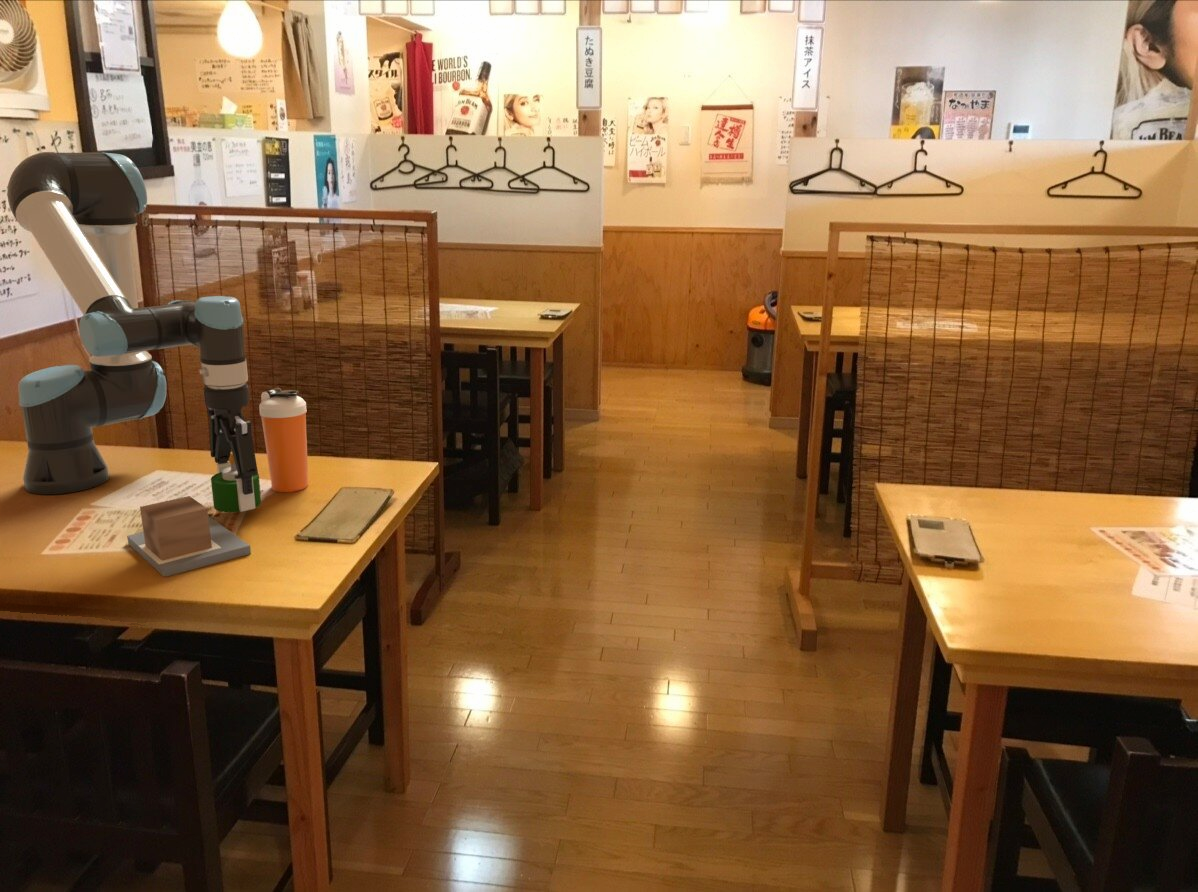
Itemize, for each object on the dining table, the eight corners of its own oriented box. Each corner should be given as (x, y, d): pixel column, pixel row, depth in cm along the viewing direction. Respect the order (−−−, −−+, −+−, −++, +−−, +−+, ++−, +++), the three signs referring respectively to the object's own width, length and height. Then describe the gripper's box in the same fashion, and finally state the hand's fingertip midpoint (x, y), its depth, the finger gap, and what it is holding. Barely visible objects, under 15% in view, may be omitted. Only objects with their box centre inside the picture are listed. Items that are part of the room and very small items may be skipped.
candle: (270, 502, 175) (266, 452, 172) (232, 515, 169) (227, 463, 166) (242, 493, 180) (237, 443, 177) (204, 506, 173) (198, 454, 170)
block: (145, 546, 156) (139, 506, 154) (194, 534, 161) (189, 495, 159) (162, 560, 150) (156, 520, 148) (212, 547, 155) (207, 508, 153)
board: (128, 543, 161) (126, 535, 160) (210, 524, 170) (209, 515, 169) (164, 577, 148) (163, 567, 148) (250, 553, 157) (249, 544, 157)
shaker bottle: (299, 495, 185) (290, 397, 179) (258, 492, 186) (248, 394, 181) (321, 481, 193) (313, 387, 187) (281, 478, 195) (272, 384, 189)
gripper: (182, 376, 172) (196, 491, 179) (228, 399, 157) (240, 524, 164) (223, 370, 177) (234, 483, 184) (271, 392, 162) (281, 514, 169)
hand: (237, 502), depth 174 cm, fingers closed on candle, 8 cm apart
